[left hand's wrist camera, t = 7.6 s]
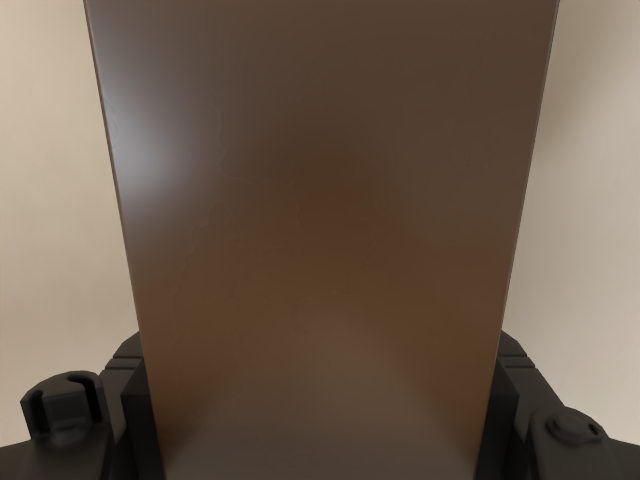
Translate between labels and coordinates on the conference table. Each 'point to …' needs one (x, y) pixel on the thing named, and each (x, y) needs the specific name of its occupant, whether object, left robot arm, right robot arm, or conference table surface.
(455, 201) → the beam
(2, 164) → the conference table surface
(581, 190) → the conference table surface
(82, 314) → the conference table surface
